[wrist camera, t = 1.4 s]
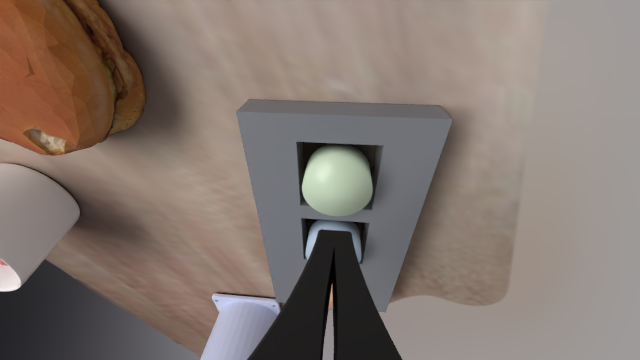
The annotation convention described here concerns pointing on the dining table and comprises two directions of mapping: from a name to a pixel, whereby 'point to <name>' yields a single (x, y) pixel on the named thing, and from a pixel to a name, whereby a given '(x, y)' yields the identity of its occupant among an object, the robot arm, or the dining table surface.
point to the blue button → (333, 226)
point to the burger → (64, 76)
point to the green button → (337, 180)
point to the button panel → (387, 180)
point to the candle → (30, 221)
